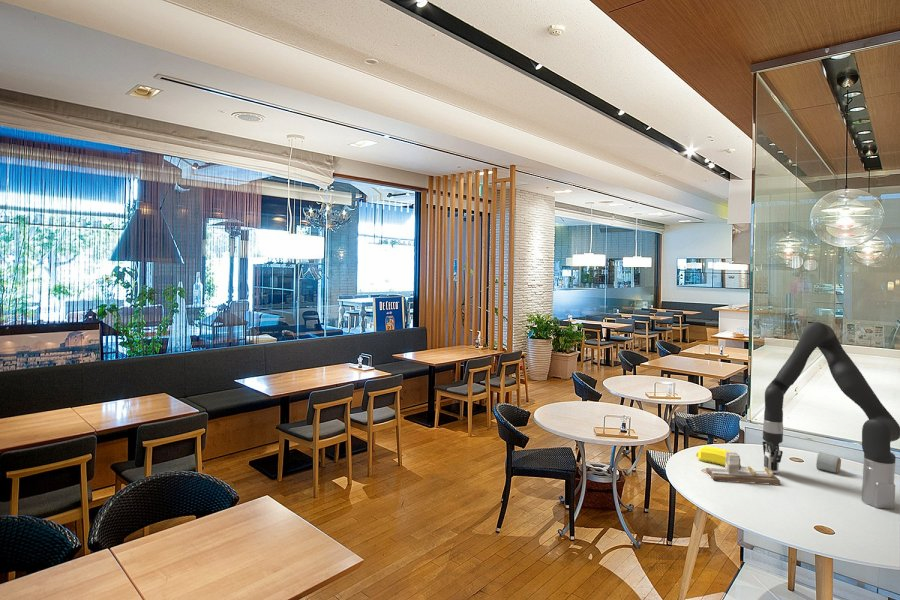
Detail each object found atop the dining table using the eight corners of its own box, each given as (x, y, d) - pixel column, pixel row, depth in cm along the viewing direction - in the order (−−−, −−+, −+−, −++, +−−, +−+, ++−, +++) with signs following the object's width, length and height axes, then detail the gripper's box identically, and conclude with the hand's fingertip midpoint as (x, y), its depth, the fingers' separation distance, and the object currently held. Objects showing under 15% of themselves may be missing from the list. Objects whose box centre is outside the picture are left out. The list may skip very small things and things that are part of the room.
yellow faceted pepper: (698, 455, 247) (693, 460, 242) (698, 442, 247) (694, 446, 241) (740, 465, 236) (736, 470, 230) (740, 451, 235) (736, 455, 229)
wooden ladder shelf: (779, 484, 214) (780, 459, 213) (713, 480, 218) (714, 456, 217) (769, 476, 223) (770, 452, 222) (706, 472, 227) (706, 448, 226)
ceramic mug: (838, 475, 224) (839, 458, 224) (815, 470, 230) (816, 453, 229) (842, 469, 232) (843, 452, 231) (820, 464, 237) (821, 448, 237)
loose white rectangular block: (778, 473, 225) (779, 455, 225) (767, 472, 226) (768, 454, 225) (774, 469, 229) (774, 452, 229) (763, 469, 230) (763, 451, 229)
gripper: (790, 435, 219) (788, 475, 220) (774, 426, 233) (772, 463, 234) (771, 435, 220) (769, 474, 221) (756, 425, 234) (755, 462, 235)
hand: (771, 468), depth 227 cm, fingers closed on loose white rectangular block, 4 cm apart
